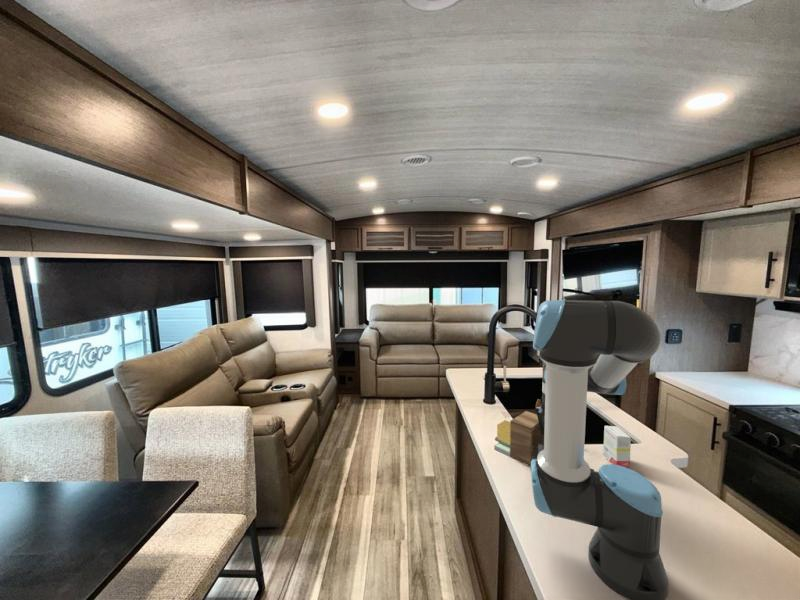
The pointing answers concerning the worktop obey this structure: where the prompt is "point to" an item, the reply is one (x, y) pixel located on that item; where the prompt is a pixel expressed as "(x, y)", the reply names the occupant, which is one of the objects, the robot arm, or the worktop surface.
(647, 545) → the robot arm
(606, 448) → the ink box
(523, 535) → the worktop surface
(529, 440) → the wooden house block
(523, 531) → the worktop surface
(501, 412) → the worktop surface
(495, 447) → the deck
